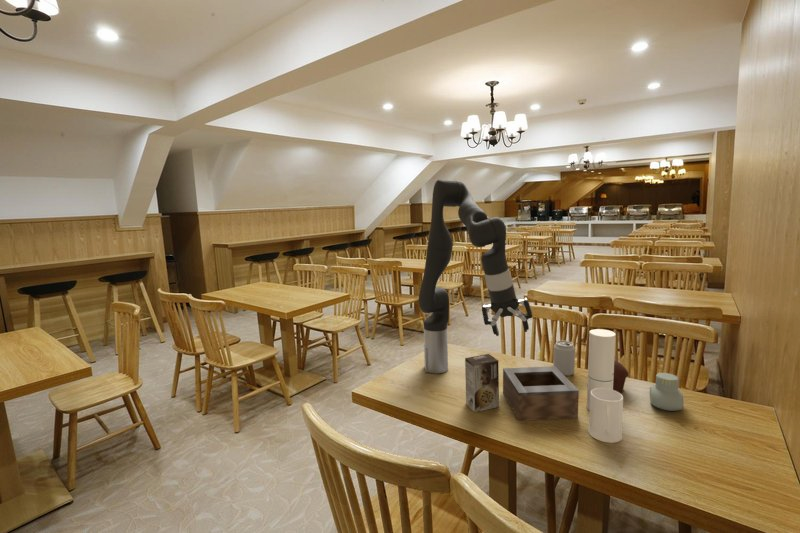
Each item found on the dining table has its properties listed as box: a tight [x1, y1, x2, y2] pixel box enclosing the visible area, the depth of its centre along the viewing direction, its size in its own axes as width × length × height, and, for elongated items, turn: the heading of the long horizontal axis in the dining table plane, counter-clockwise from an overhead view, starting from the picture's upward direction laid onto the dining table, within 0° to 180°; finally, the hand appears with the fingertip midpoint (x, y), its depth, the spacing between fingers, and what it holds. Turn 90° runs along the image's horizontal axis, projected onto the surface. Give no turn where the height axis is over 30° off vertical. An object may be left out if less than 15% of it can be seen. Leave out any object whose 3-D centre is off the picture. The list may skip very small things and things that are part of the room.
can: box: [552, 340, 576, 377], centre depth 152 cm, size 8×8×12 cm
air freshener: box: [649, 372, 685, 412], centre depth 125 cm, size 11×8×10 cm
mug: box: [587, 388, 624, 444], centre depth 110 cm, size 12×8×12 cm
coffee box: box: [464, 353, 500, 413], centre depth 129 cm, size 9×6×16 cm
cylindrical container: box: [586, 328, 616, 412], centre depth 124 cm, size 7×7×25 cm
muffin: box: [613, 359, 630, 394], centre depth 138 cm, size 12×11×10 cm
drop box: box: [502, 365, 580, 422], centre depth 129 cm, size 18×18×9 cm
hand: (511, 332), depth 122 cm, fingers open, 8 cm apart
